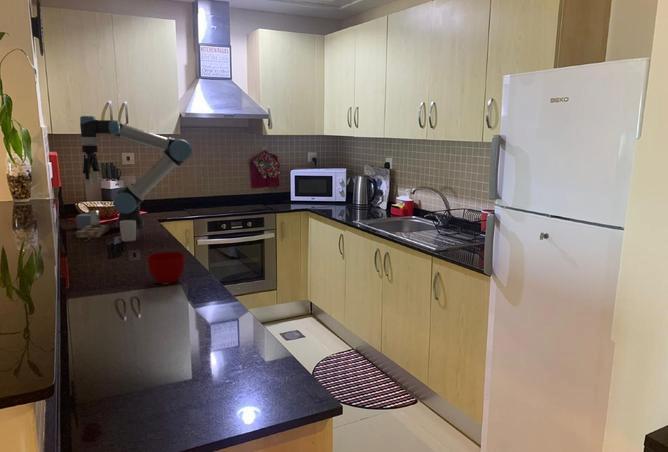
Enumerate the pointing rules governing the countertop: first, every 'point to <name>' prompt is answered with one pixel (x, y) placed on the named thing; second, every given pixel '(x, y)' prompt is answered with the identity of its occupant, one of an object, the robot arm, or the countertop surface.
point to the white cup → (128, 230)
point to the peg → (95, 219)
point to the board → (92, 231)
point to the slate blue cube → (83, 220)
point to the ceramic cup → (166, 266)
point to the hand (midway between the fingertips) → (92, 184)
